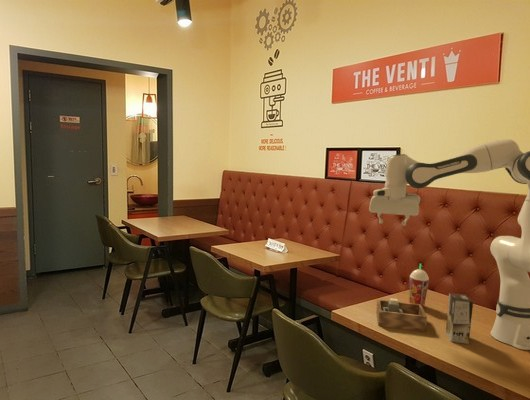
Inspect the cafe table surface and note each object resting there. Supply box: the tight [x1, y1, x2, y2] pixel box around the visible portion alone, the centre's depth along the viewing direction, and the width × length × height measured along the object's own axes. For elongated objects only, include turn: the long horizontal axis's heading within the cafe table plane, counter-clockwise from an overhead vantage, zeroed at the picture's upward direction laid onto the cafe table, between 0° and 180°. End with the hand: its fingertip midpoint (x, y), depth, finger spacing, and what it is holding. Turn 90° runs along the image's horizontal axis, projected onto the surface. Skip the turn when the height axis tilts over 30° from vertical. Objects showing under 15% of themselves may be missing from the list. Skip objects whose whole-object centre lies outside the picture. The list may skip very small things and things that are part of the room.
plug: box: [387, 297, 399, 313], centre depth 165 cm, size 4×4×8 cm
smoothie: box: [408, 263, 430, 308], centre depth 183 cm, size 8×8×20 cm
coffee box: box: [445, 292, 474, 345], centre depth 151 cm, size 9×6×16 cm
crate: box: [375, 299, 428, 332], centre depth 164 cm, size 18×14×6 cm
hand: (392, 224), depth 170 cm, fingers open, 8 cm apart
